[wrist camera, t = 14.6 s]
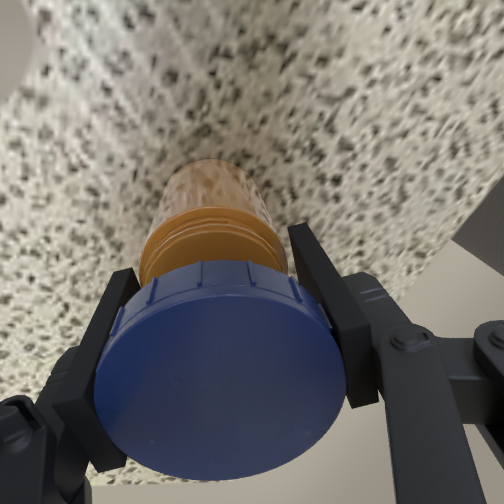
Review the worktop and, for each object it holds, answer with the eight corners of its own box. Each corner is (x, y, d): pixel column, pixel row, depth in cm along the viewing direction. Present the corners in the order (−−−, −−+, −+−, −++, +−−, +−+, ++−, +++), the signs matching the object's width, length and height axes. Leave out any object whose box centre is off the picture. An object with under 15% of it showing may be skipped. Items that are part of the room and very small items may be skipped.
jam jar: (281, 193, 22) (327, 269, 14) (228, 270, 24) (240, 377, 16) (192, 137, 20) (184, 186, 12) (142, 225, 22) (103, 321, 14)
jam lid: (345, 257, 10) (370, 291, 8) (315, 426, 13) (330, 474, 11) (94, 258, 9) (72, 295, 8) (120, 436, 12) (108, 490, 10)
